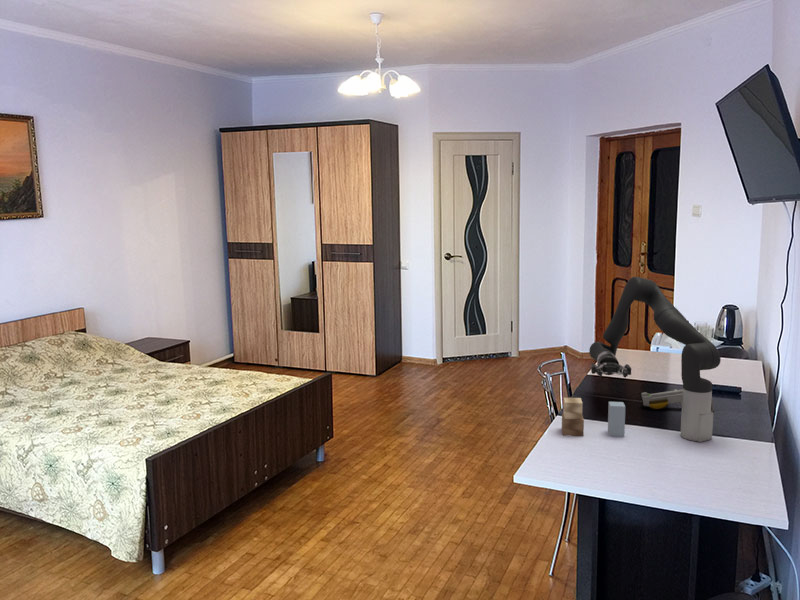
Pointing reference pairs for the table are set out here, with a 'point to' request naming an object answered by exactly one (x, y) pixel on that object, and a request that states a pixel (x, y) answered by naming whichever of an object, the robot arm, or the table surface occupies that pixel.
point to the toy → (664, 399)
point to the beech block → (572, 408)
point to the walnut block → (572, 426)
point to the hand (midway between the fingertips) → (613, 374)
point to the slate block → (616, 419)
